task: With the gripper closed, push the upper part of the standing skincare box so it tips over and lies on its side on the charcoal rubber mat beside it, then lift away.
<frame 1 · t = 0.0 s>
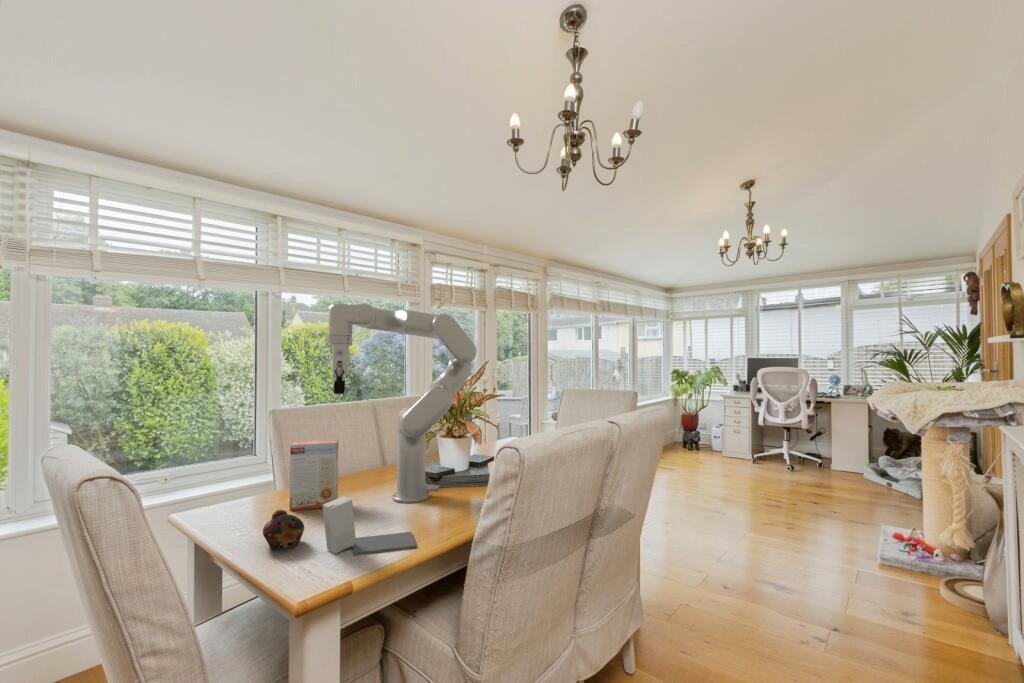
hand: (339, 392, 157), 37 cm above the table, tool pointing down, fingers open, 9 cm apart
slate mat: (384, 544, 123), on the table
decorative turtle: (283, 546, 122), on the table
cracker box: (314, 507, 154), on the table
skincare box: (341, 548, 120), on the table
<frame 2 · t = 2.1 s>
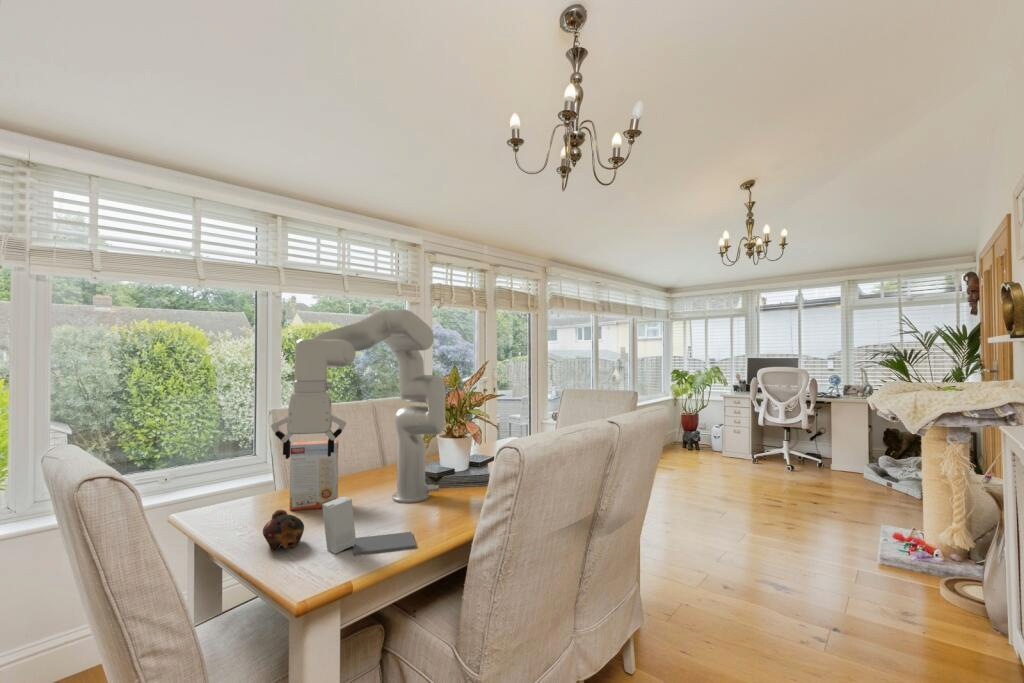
hand: (308, 456, 118), 24 cm above the table, tool pointing down, fingers open, 9 cm apart
skincare box: (341, 548, 120), on the table, touching slate mat
everything else where it was.
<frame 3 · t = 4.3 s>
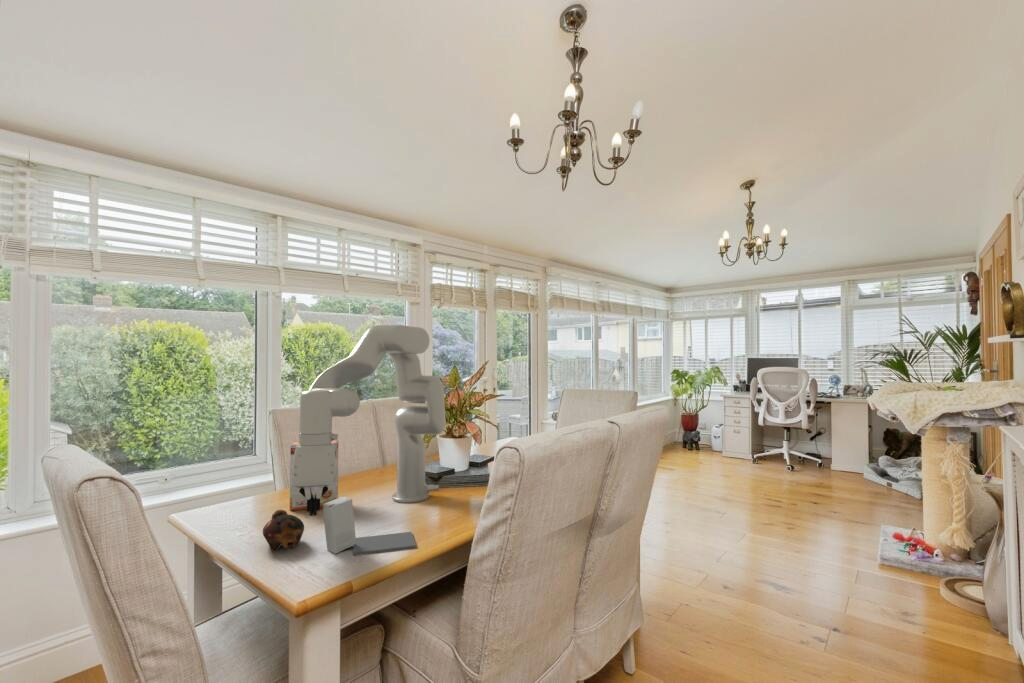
hand: (313, 513, 118), 10 cm above the table, tool pointing down, fingers closed
skincare box: (341, 548, 120), on the table, touching gripper, slate mat
everything else where it was.
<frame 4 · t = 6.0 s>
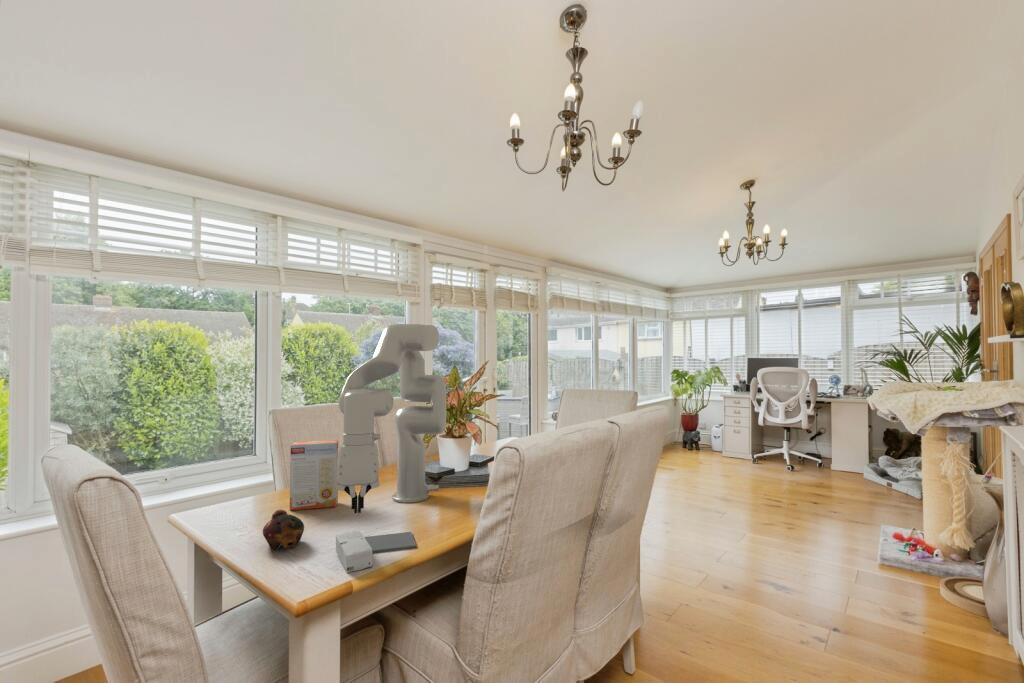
hand: (357, 511, 121), 9 cm above the table, tool pointing down, fingers closed
skincare box: (347, 540, 118), point 3 cm above the table, touching slate mat
everything else where it was.
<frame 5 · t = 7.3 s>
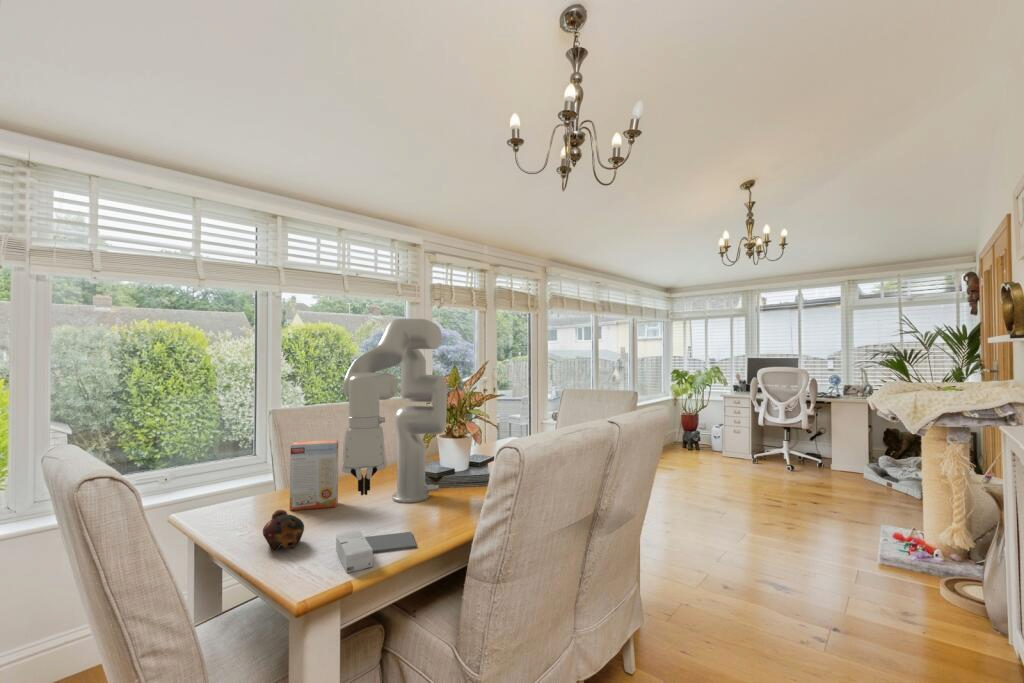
hand: (364, 493, 123), 13 cm above the table, tool pointing down, fingers closed
nothing on the table moved.
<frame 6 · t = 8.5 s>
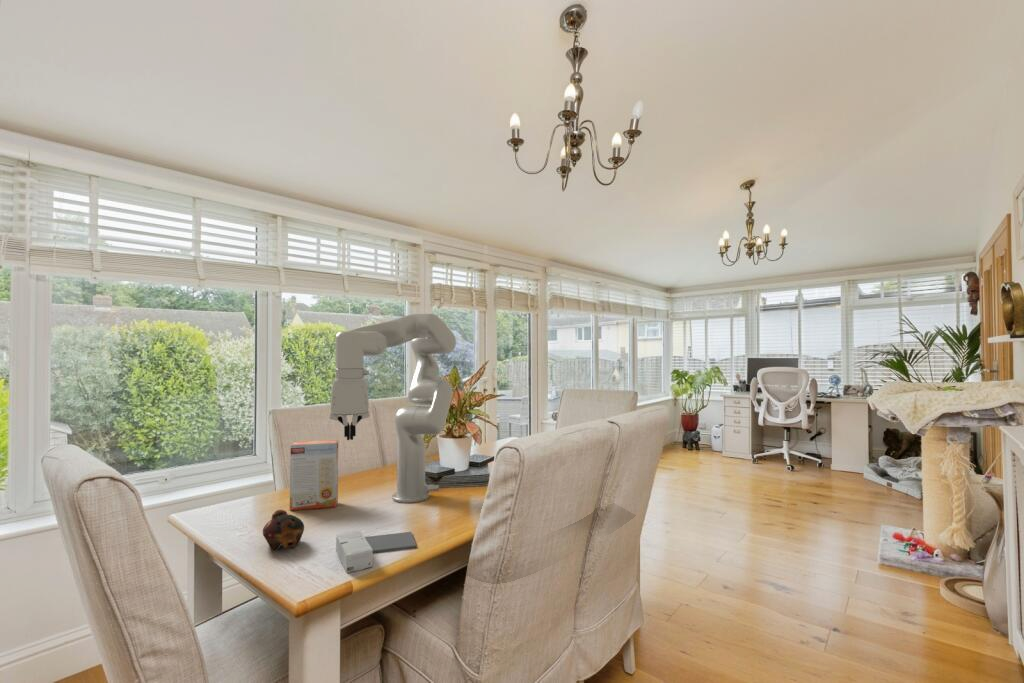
hand: (349, 439, 135), 25 cm above the table, tool pointing down, fingers closed
nothing on the table moved.
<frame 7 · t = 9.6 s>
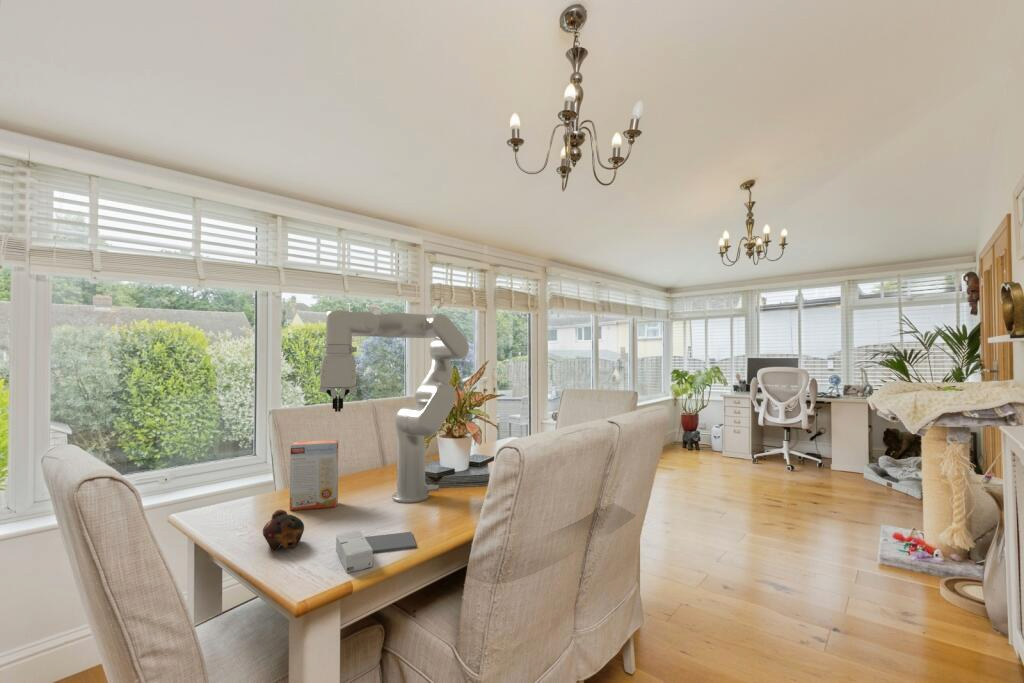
hand: (337, 411, 144), 32 cm above the table, tool pointing down, fingers closed
nothing on the table moved.
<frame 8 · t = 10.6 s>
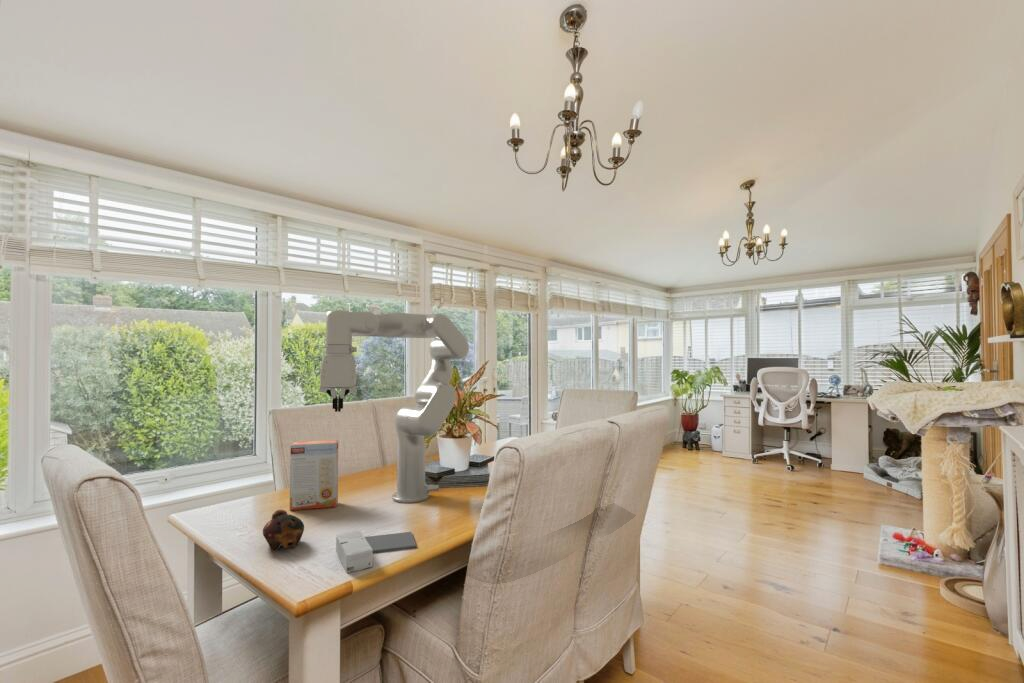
hand: (337, 411, 144), 32 cm above the table, tool pointing down, fingers closed
nothing on the table moved.
at the end: skincare box tilted 93°; skincare box touching slate mat, table; skincare box moved 3.8 cm from its start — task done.
